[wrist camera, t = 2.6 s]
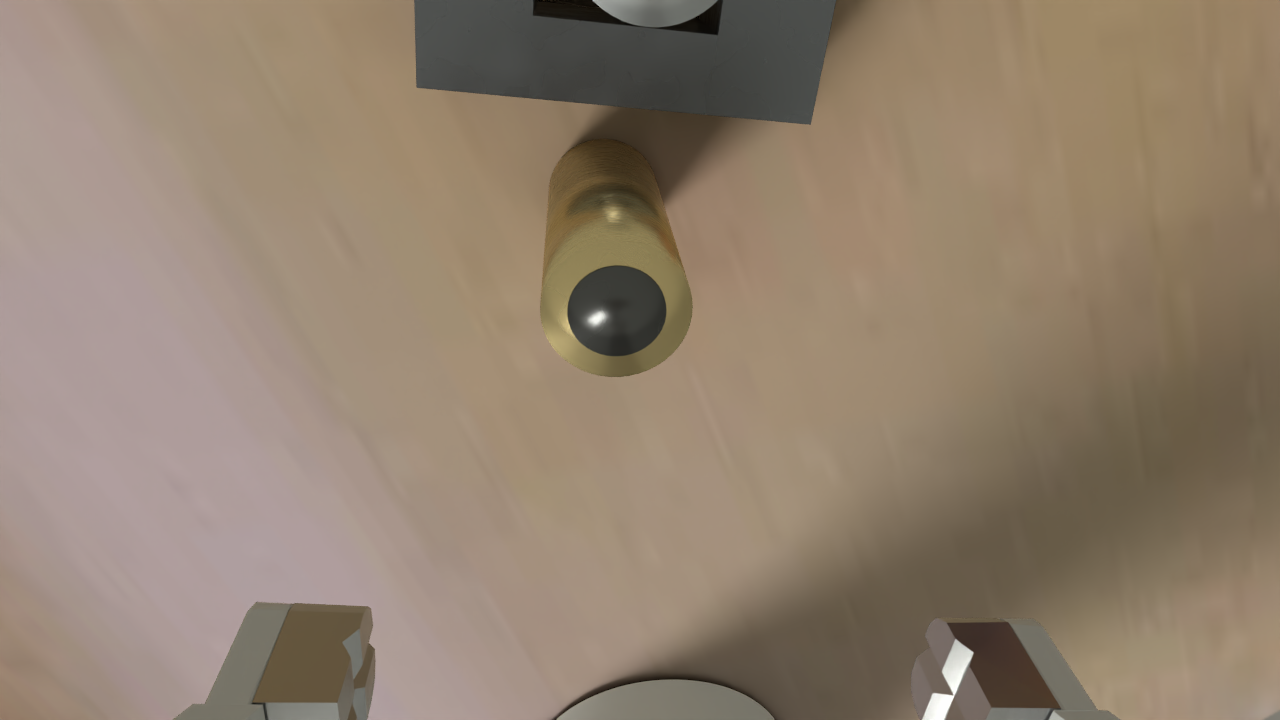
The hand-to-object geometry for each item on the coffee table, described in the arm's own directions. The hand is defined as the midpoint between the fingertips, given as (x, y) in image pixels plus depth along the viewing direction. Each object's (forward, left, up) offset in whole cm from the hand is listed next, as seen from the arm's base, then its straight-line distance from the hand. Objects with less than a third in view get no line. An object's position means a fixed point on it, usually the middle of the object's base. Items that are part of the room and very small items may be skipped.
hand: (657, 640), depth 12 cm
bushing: (0, 0, -21) cm, 21 cm away
